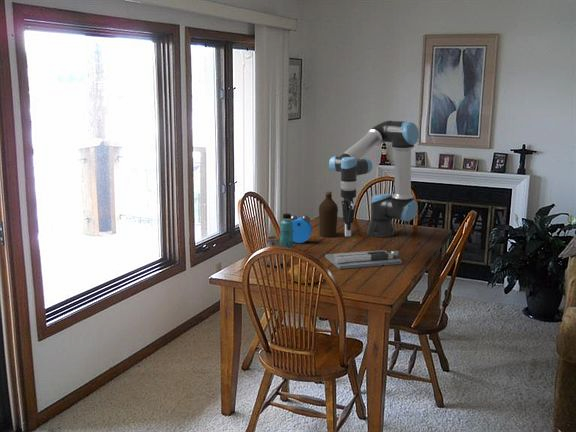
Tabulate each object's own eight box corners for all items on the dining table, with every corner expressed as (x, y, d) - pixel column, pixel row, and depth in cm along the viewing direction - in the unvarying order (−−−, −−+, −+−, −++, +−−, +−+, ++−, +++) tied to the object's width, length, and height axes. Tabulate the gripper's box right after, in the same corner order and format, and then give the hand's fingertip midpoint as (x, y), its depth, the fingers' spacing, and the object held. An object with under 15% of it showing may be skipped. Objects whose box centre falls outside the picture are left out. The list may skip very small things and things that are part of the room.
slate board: (384, 252, 312) (384, 249, 311) (402, 263, 293) (402, 260, 293) (325, 257, 303) (325, 254, 303) (339, 269, 284) (339, 266, 284)
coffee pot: (261, 260, 297) (261, 230, 294) (285, 260, 297) (285, 230, 294) (259, 274, 277) (259, 242, 273) (285, 274, 276) (285, 242, 273)
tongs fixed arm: (396, 255, 301) (396, 250, 300) (400, 258, 296) (401, 252, 295) (333, 260, 292) (333, 254, 291) (337, 263, 287) (337, 257, 286)
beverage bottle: (279, 250, 315) (279, 212, 311) (292, 250, 315) (292, 212, 311) (280, 253, 309) (280, 215, 304) (293, 253, 309) (293, 215, 305)
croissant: (284, 281, 274) (282, 264, 272) (316, 273, 279) (314, 256, 277) (295, 290, 261) (293, 272, 259) (329, 281, 266) (326, 264, 264)
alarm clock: (311, 241, 333) (312, 214, 330) (310, 244, 327) (311, 216, 324) (288, 240, 335) (288, 213, 332) (286, 243, 329) (286, 215, 326)
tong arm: (385, 255, 301) (385, 250, 300) (387, 257, 298) (387, 252, 297) (333, 259, 294) (334, 254, 293) (335, 260, 291) (336, 255, 291)
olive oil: (328, 238, 339) (329, 194, 333) (314, 235, 346) (315, 191, 341) (341, 235, 346) (342, 192, 340) (327, 232, 353) (328, 189, 348)
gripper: (336, 187, 303) (336, 233, 308) (346, 192, 291) (345, 239, 296) (350, 186, 305) (350, 232, 310) (360, 191, 293) (359, 238, 298)
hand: (347, 235), depth 303 cm, fingers closed
